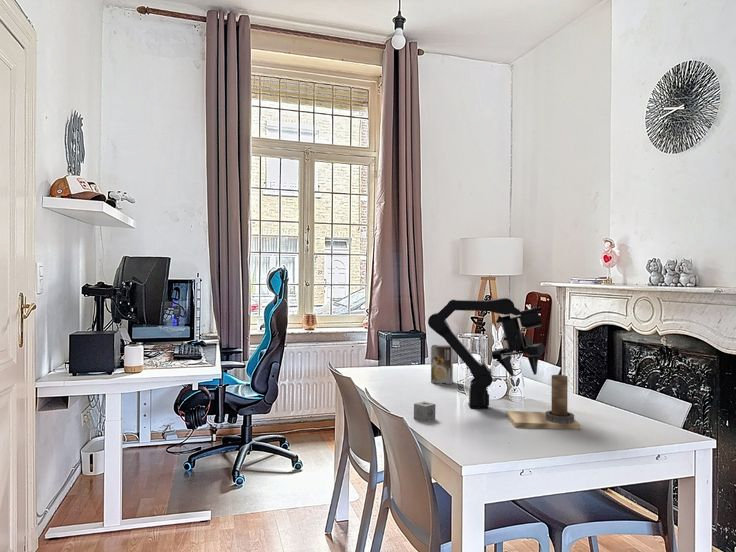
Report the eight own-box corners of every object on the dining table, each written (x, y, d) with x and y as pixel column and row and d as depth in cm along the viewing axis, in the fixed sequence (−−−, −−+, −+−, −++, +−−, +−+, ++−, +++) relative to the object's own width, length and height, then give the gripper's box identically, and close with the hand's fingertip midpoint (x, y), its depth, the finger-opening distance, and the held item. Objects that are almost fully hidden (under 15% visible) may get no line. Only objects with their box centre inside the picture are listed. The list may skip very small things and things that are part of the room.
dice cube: (435, 419, 173) (435, 404, 173) (425, 422, 170) (425, 406, 169) (423, 416, 177) (423, 401, 177) (413, 418, 173) (413, 403, 173)
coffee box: (453, 381, 233) (453, 345, 233) (451, 384, 227) (451, 347, 227) (432, 380, 236) (433, 344, 236) (430, 383, 230) (430, 346, 229)
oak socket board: (514, 427, 165) (515, 416, 165) (506, 415, 179) (506, 404, 179) (580, 429, 163) (580, 418, 163) (566, 417, 177) (566, 406, 177)
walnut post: (549, 420, 168) (549, 376, 168) (553, 417, 172) (553, 374, 172) (565, 422, 165) (565, 378, 165) (569, 419, 169) (569, 375, 169)
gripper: (546, 324, 186) (558, 367, 185) (502, 330, 199) (512, 371, 199) (531, 331, 178) (543, 375, 177) (486, 337, 192) (497, 379, 191)
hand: (523, 375), depth 186 cm, fingers open, 9 cm apart
